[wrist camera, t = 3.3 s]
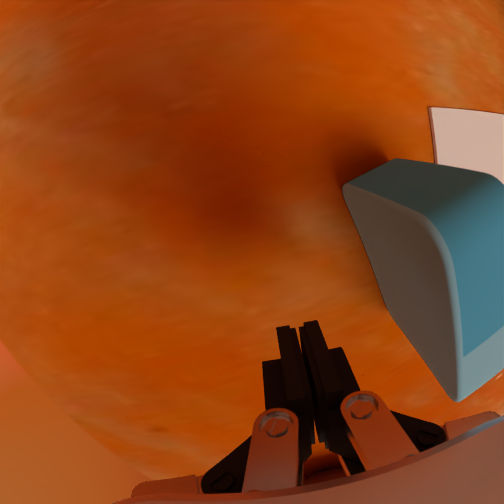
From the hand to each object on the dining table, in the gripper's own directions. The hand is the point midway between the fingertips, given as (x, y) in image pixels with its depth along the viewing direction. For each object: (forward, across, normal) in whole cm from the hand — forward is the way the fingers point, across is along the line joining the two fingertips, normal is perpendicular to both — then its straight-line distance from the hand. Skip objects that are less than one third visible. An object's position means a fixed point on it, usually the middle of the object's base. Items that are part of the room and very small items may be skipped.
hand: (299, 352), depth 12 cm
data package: (+10, -9, 0) cm, 14 cm away
